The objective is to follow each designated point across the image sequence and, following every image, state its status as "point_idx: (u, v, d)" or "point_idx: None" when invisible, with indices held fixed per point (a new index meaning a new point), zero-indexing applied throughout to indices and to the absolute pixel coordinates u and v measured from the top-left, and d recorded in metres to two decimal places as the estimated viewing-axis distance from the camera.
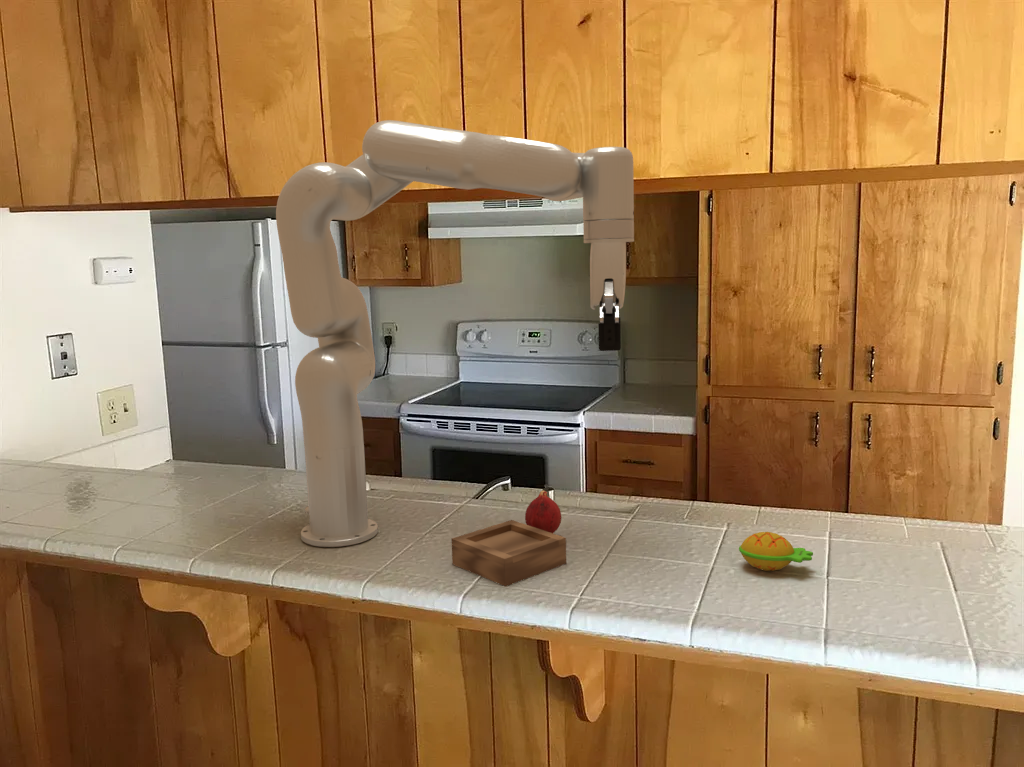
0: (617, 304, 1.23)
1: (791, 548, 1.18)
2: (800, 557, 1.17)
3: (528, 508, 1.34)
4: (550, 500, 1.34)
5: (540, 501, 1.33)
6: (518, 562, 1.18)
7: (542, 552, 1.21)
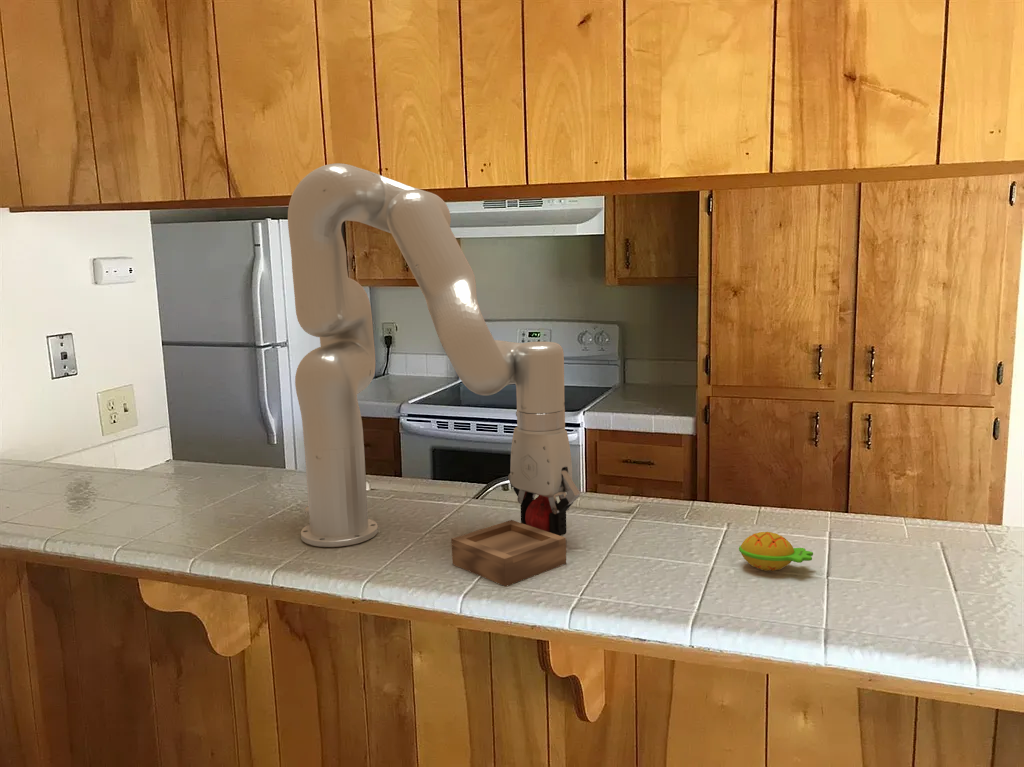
0: (564, 492, 1.32)
1: (791, 548, 1.18)
2: (800, 557, 1.17)
3: (528, 508, 1.34)
4: None
5: (540, 501, 1.33)
6: (518, 562, 1.18)
7: (542, 552, 1.21)
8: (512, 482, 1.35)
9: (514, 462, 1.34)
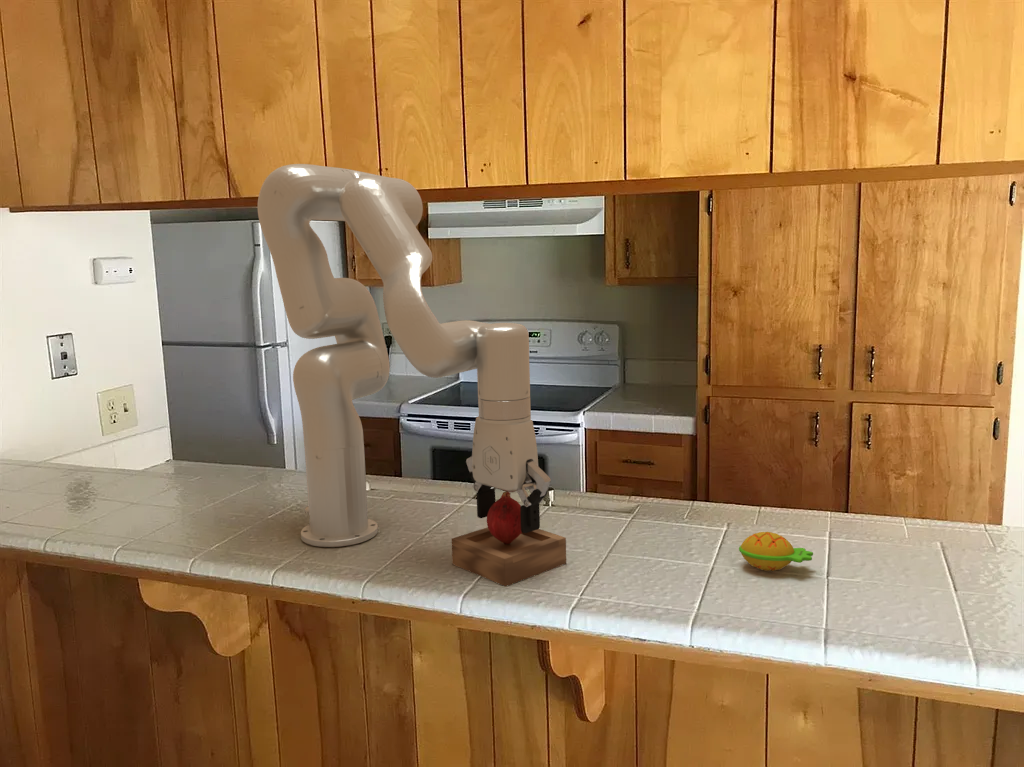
0: (534, 483, 1.21)
1: (791, 548, 1.18)
2: (800, 557, 1.17)
3: (490, 510, 1.24)
4: (513, 502, 1.23)
5: (502, 502, 1.23)
6: (518, 562, 1.18)
7: (542, 552, 1.21)
8: (474, 476, 1.25)
9: (476, 454, 1.23)
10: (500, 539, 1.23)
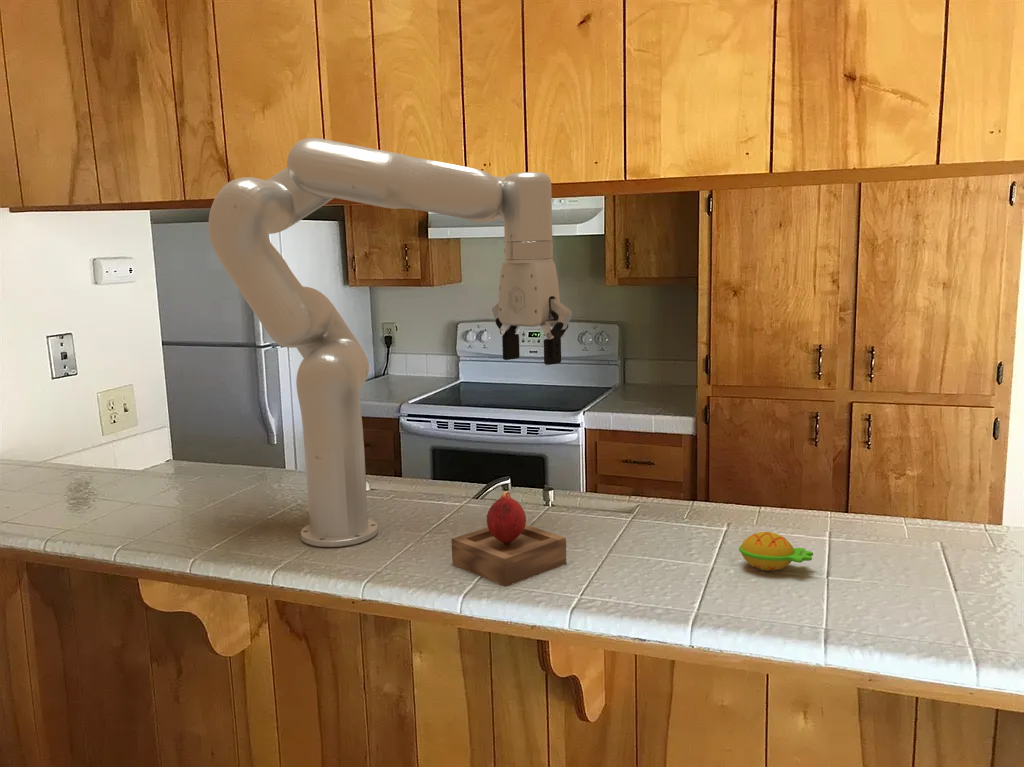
0: (556, 320, 1.32)
1: (791, 548, 1.18)
2: (800, 557, 1.17)
3: (490, 510, 1.24)
4: (513, 502, 1.23)
5: (502, 502, 1.23)
6: (518, 562, 1.18)
7: (542, 552, 1.21)
8: (500, 318, 1.35)
9: (503, 297, 1.34)
10: (500, 539, 1.23)
